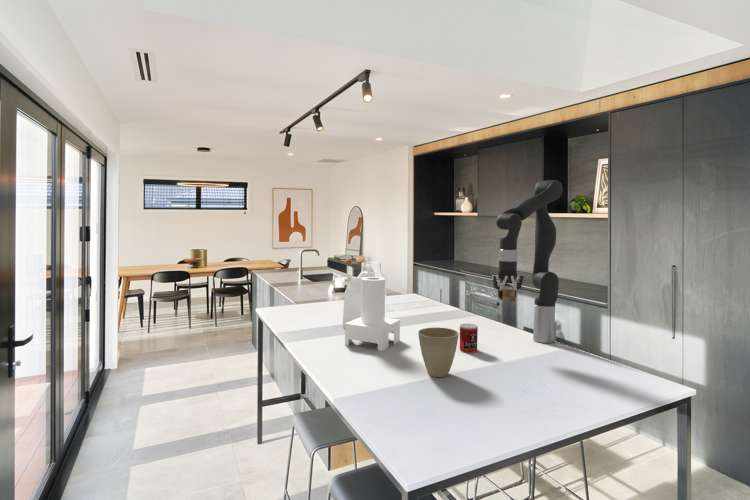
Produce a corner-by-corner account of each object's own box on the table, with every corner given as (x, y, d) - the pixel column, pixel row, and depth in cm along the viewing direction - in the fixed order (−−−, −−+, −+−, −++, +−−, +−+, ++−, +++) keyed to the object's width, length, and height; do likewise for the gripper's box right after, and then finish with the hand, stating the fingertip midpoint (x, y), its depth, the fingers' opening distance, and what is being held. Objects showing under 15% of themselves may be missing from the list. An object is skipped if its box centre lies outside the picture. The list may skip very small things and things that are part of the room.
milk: (342, 327, 234) (342, 278, 232) (350, 322, 245) (350, 275, 243) (364, 329, 231) (364, 279, 228) (370, 324, 242) (371, 276, 239)
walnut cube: (510, 299, 196) (510, 287, 196) (514, 301, 191) (515, 289, 191) (499, 299, 196) (499, 287, 195) (503, 301, 191) (503, 289, 190)
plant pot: (453, 367, 174) (454, 326, 173) (461, 381, 159) (462, 337, 158) (415, 367, 174) (415, 327, 172) (420, 381, 159) (421, 337, 158)
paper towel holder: (344, 345, 203) (344, 279, 200) (365, 335, 219) (365, 274, 217) (381, 351, 194) (382, 282, 191) (399, 340, 210) (400, 277, 208)
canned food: (464, 353, 191) (465, 328, 190) (456, 348, 199) (456, 323, 198) (480, 352, 193) (481, 327, 192) (471, 346, 201) (472, 322, 200)
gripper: (520, 258, 196) (519, 297, 198) (488, 259, 195) (487, 297, 197) (527, 260, 189) (526, 300, 190) (494, 260, 188) (493, 300, 189)
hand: (506, 298), depth 193 cm, fingers closed on walnut cube, 5 cm apart
